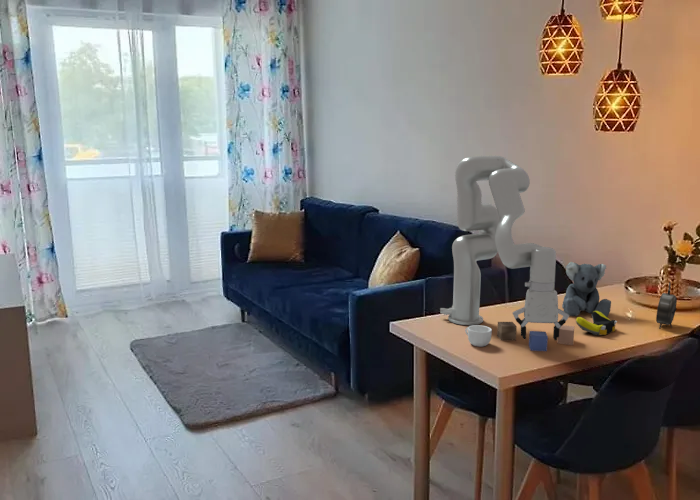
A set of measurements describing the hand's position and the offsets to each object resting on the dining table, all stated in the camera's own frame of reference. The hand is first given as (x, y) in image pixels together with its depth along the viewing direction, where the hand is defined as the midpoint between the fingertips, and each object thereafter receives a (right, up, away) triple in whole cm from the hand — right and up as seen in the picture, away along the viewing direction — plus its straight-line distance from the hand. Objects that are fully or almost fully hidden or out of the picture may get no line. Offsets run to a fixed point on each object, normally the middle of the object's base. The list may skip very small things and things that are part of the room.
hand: (539, 338), depth 210 cm
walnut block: (-8, -1, +11) cm, 14 cm away
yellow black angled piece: (+26, 0, +20) cm, 32 cm away
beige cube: (+11, -2, +8) cm, 13 cm away
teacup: (-19, -3, +5) cm, 20 cm away
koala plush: (+29, +4, +44) cm, 53 cm away
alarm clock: (+52, +1, +25) cm, 58 cm away
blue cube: (0, -3, +1) cm, 4 cm away
